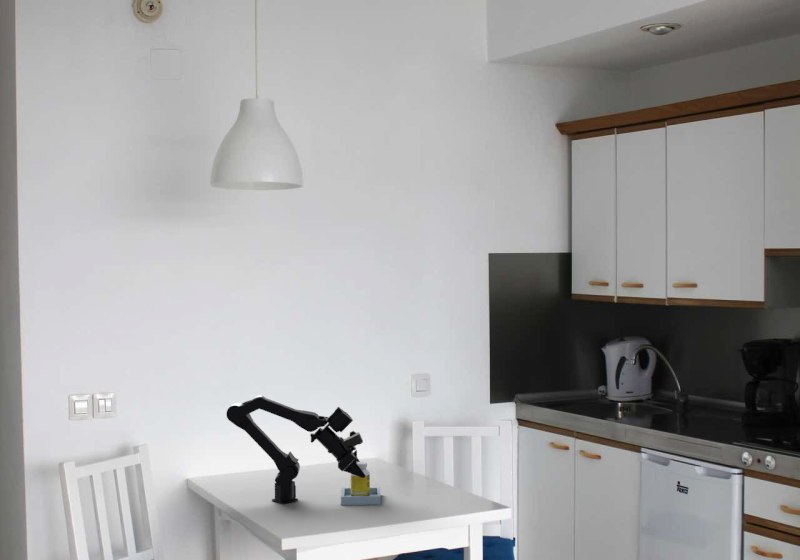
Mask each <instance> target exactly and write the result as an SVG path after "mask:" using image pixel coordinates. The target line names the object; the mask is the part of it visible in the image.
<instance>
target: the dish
mask: <svg viewBox="0 0 800 560" xmlns="http://www.w3.org/2000/svg"><path fill="white" fill-rule="evenodd" d="M340 494H341V495H340V506H348V505H349V506H350V505H351V506H353V505H354V506H355V505H359V506H363V505H365V506H366V505H368V504H369V505H381V487H379V486H376V487H374V486H373V487H371V486H370V496H351V487H342V488H341V493H340Z"/></svg>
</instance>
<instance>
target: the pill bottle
mask: <svg viewBox="0 0 800 560" xmlns="http://www.w3.org/2000/svg"><path fill="white" fill-rule="evenodd" d="M357 464H358V466H359V467H360V468H361V470H362V471H363V473H364V474H365V475H366V476H365V477H364V478H362V477H359V476H356V475H354V474H351V473H350V488H351V496H370V487H371V483H370V481H371V479H370V477H371V475H370V474H371V473H370V471H369V470H368V469H367V467H368V463H367V461H366V462H365V461H360V462H357Z"/></svg>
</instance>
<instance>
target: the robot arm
mask: <svg viewBox="0 0 800 560" xmlns="http://www.w3.org/2000/svg"><path fill="white" fill-rule="evenodd" d="M258 410H262V411H264V412H267V413H270V414H272V415H275V416H278V417H281V418H282V419H286V420H288V421H291V422H292V423H294V424H296V425H297V426H298V427H299V428H301V429H303V430H305V432H306V431H307V432H309V433H310V435H309V436H310V443H314V442H315V441H317V442H319V443H320V444H321V445H322V446H323V447H324V448H325V449H326V450H327V453H328V454H330V455H332V456H333V457H334V458H335V459H336V460H335V461H336V462H337V468H338V469H339V470H340V471H341V472H346V473H349V474H350V475H351V474H354V475H356V476H359V477H362V478H364V477H365V476H366V475H365V474H364V473H363V471H362V470H361V468H360V467H359V466H358V464H357V462H361V461H360V460H359V458H358V450H357V447H356V446H358V445H361V444H363V442H364V441H363V437H362V436H361V434H360V432H359V431H357V432H356V431H354V430H352V431H350V432H349V436H347V437H346V438H343V437H341V436H339V435H337V434H336V433H343V431H344V430H346V428H347V427H348V426H350V424H351V423H352V422H353V421H354V420H353V418H352V417H351V415H350V414H349V413H348V412H347V411H345V410H344V409H342V408H341V407H340V406H337V407H336V409H335V410H334V411H333V412H332V413H331V414H330V415H329V416H323V415H319V414H318V413H316V412H313V411H309V410H304V409H303V410H301V409H296V408H293V407H290V406H288V405H285V404H283V403H279V402H277V401H275V400H272V399H269V398H268V397H265V396H264V395H257V396H256V397H254V398H252V399H249V400H246V401H244V402H234V403H233V404H231V405H230V406H229V407H228V408H227V409H226V418H227V420H228V421H229V422H230V423H232V424H234V425H235V426H236V427H238V428H239V429H242V430H243V431H244V432H246V434H247V435H249V437H250V438H251V439H252V440H253V441H254V442H255V443H256V444H257V445H258V447H260V448H261V449H262V450H263V452H265V453H266V455H268V456H269V457H270V459H271V460H272V461H273V462H274V464H275V466H276V468H277V470H278V473H277V474H276V476H275V479H274V498H272V499H271V501H272V502H276V503H279V504H288V503H292V502H296V501H299V499H298V498H297V494H296V493H297V492H296V491H297V489H296V488H297V486H296V481H294V479H296V478H297V477H298V476H299V472H300V470H301V469H300V468H301V466H300V463H299V458H296V457H295V456H294V454H293V453H292V452H291V451H289V452H288V453H286V452H284V451H282V449H281V448H280V447H279V446H278V445H277V444H276V443H275V441H273V440H272V439H271V438H270V437H269V436H268V435H267V434H266V432H265V431H263V430H262V429H261V427H260V426H258V424H257V423H256V422H255V421H254V419H253V417H252V416H251V413H253V412H255V411H258ZM322 427H323V428H322ZM312 432H314V433H312ZM353 451H354V452H353Z"/></svg>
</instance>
